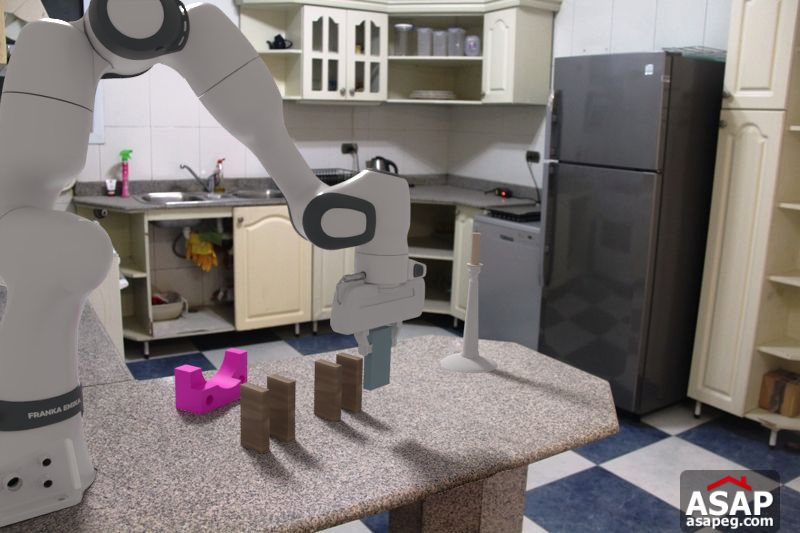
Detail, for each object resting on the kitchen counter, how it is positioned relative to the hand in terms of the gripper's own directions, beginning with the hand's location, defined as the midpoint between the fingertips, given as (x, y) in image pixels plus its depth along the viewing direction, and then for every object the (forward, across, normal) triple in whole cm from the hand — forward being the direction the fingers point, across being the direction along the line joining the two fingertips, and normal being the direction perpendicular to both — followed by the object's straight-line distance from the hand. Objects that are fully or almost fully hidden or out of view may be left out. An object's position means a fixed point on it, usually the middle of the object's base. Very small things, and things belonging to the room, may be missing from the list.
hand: (377, 350), depth 121 cm
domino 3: (+14, -2, +9) cm, 17 cm away
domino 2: (+14, -13, +9) cm, 21 cm away
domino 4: (+14, +4, +9) cm, 17 cm away
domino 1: (+14, -18, +9) cm, 25 cm away
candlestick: (+13, +40, +7) cm, 42 cm away
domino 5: (+6, 0, 0) cm, 6 cm away
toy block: (+14, -9, +30) cm, 35 cm away
